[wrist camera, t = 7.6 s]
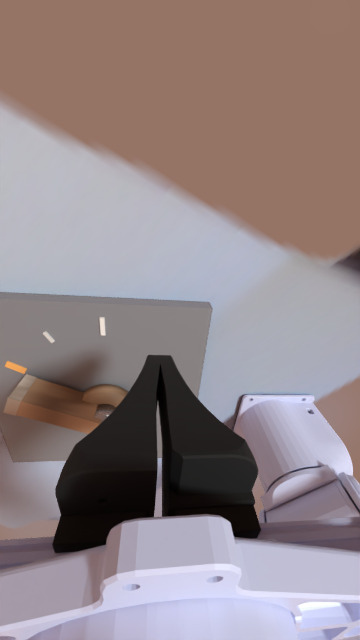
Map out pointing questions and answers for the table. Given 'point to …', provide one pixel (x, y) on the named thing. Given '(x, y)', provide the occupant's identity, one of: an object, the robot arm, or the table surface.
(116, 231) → the table surface
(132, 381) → the dial plate
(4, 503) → the table surface
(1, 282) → the table surface
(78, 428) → the dial
